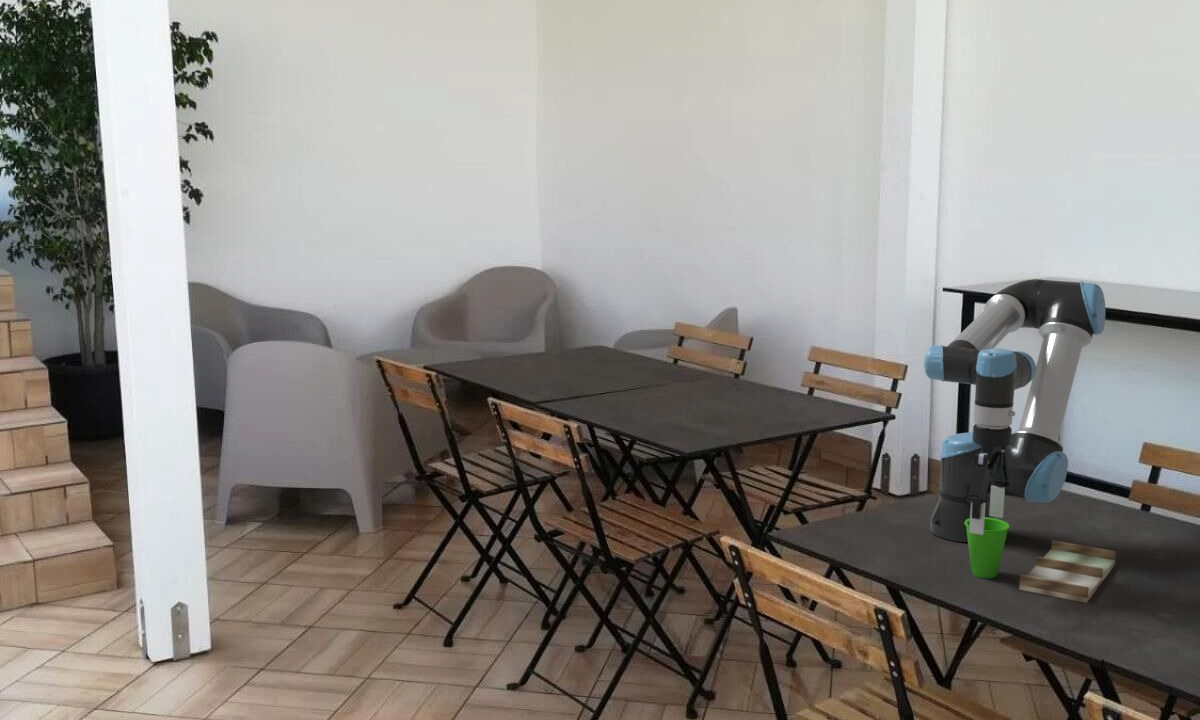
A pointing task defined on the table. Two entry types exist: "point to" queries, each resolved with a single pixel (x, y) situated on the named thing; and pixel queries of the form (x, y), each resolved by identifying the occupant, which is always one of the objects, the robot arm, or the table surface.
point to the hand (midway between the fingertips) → (986, 524)
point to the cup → (987, 547)
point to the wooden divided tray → (1069, 571)
